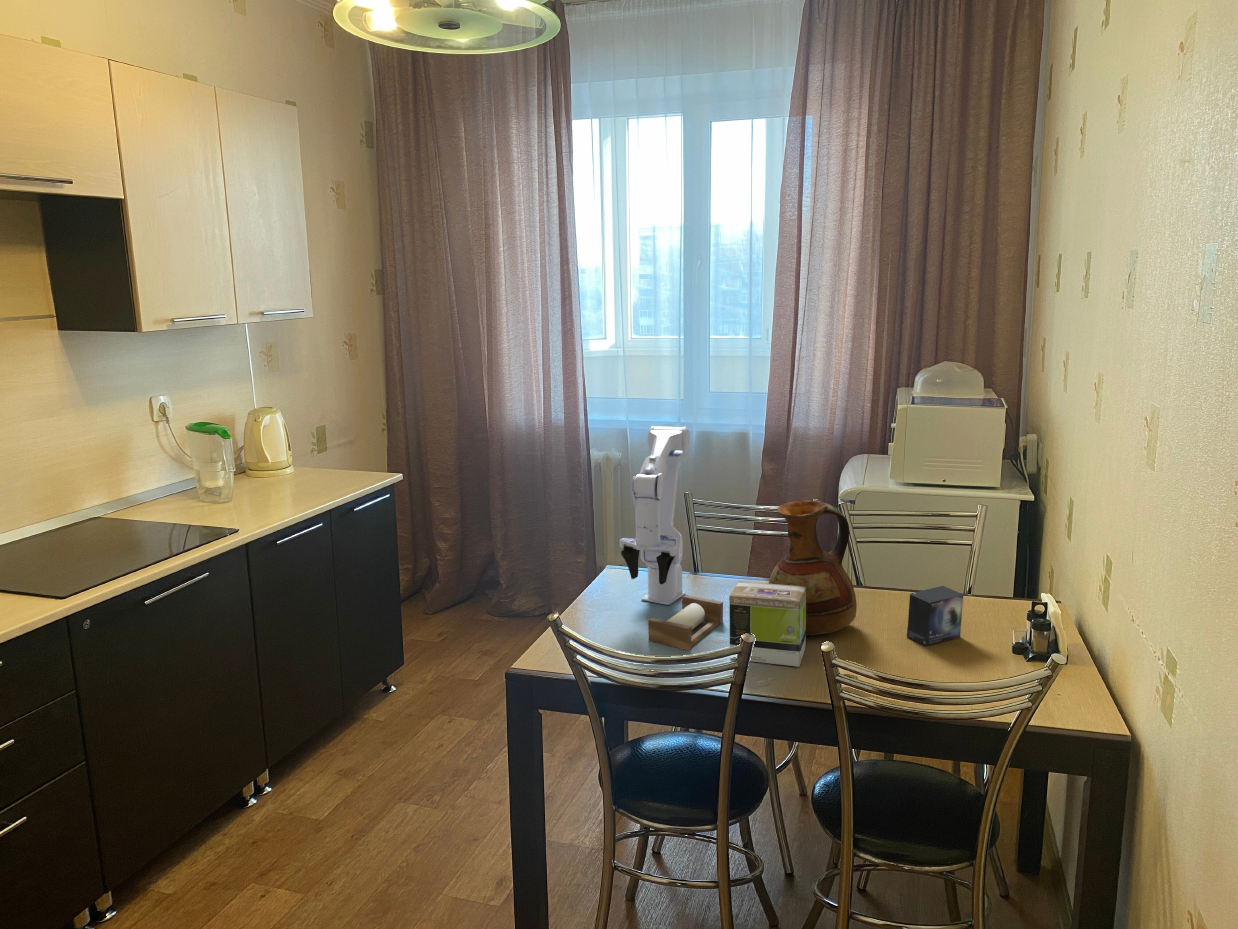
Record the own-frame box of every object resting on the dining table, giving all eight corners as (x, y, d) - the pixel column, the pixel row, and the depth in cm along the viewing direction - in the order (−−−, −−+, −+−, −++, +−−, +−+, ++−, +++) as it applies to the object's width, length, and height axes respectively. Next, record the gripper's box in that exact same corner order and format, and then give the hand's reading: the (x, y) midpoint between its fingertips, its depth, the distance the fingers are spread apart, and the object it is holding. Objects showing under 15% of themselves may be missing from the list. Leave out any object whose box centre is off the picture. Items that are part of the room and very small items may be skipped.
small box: (927, 647, 196) (930, 602, 193) (905, 637, 201) (907, 593, 199) (962, 638, 200) (965, 593, 198) (939, 628, 206) (942, 584, 204)
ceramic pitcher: (754, 615, 216) (756, 494, 209) (832, 607, 220) (836, 488, 213) (786, 648, 197) (788, 516, 190) (871, 638, 201) (876, 509, 194)
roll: (694, 626, 213) (682, 608, 213) (709, 617, 210) (697, 599, 211) (669, 645, 202) (657, 626, 203) (685, 636, 200) (672, 617, 200)
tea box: (806, 649, 196) (807, 585, 193) (799, 669, 187) (801, 601, 184) (737, 641, 201) (738, 578, 198) (728, 660, 192) (728, 594, 189)
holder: (685, 614, 217) (684, 594, 216) (722, 622, 212) (723, 601, 211) (648, 641, 202) (648, 620, 201) (688, 650, 197) (688, 628, 196)
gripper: (612, 525, 210) (613, 580, 213) (667, 533, 202) (667, 590, 205) (627, 517, 215) (628, 571, 218) (681, 525, 208) (681, 581, 211)
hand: (648, 580), depth 212 cm, fingers open, 7 cm apart
